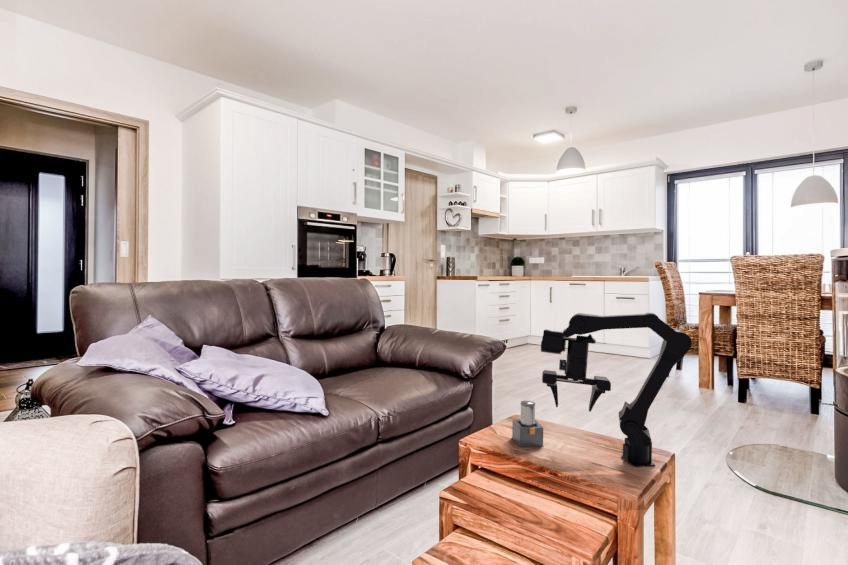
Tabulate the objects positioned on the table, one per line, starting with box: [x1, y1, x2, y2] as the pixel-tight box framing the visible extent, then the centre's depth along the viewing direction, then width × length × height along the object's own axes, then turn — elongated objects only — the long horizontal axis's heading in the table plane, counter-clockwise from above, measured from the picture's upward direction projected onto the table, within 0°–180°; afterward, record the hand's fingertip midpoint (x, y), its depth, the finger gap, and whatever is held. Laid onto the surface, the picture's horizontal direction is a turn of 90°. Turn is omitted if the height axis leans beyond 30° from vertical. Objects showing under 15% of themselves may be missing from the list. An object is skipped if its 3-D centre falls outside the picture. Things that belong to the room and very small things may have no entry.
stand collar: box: [511, 419, 544, 448], centre depth 133 cm, size 8×8×6 cm
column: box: [520, 400, 536, 427], centre depth 134 cm, size 4×4×12 cm
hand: (573, 409), depth 129 cm, fingers open, 9 cm apart
